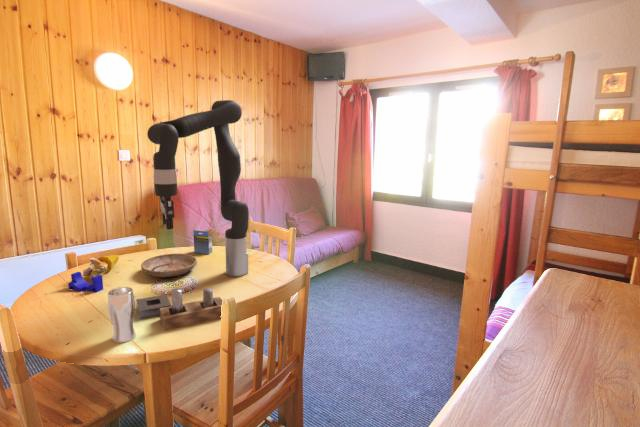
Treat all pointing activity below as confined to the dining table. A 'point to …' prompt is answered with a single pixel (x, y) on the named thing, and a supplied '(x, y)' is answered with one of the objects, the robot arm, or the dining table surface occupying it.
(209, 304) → the rack
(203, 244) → the label tape cartridge
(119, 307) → the beer glass
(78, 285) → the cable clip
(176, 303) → the round metal peg
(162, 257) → the ceramic bowl
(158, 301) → the socket block
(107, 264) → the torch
